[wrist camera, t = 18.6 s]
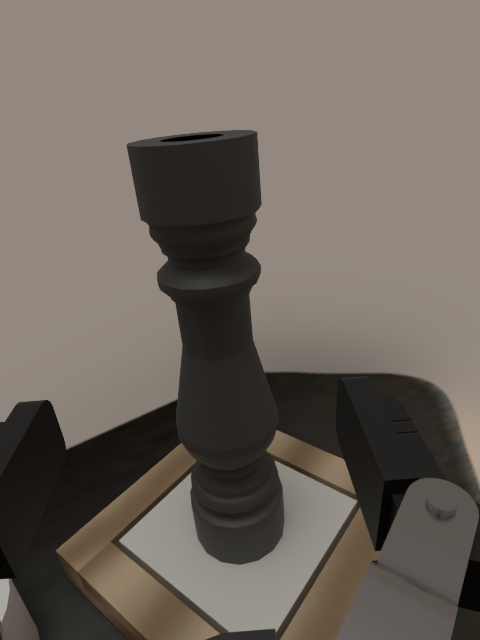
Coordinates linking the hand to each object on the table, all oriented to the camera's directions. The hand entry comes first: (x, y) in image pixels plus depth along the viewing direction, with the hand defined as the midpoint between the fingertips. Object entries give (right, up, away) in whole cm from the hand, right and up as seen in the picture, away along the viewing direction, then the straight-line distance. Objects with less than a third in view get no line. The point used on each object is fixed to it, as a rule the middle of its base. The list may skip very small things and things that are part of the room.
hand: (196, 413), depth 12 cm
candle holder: (+1, -12, +18) cm, 22 cm away
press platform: (+1, -14, +19) cm, 24 cm away
